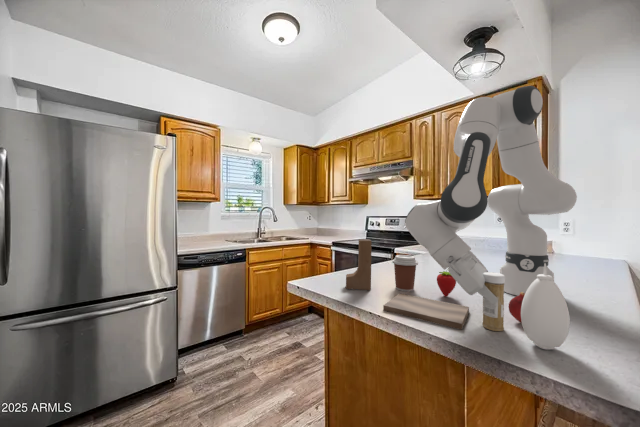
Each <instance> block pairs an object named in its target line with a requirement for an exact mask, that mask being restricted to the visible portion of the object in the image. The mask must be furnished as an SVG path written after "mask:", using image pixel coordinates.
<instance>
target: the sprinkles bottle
mask: <svg viewBox="0 0 640 427" xmlns="http://www.w3.org/2000/svg"><path fill="white" fill-rule="evenodd" d="M483 276H484V278H485V283H484V285H485V286H486V287H487V288H488V289H489V290H490V291H491V292H492V293H494V294H495V295H496V296H497V297H498V302H496V303H494V304H491V303H490V302H489V301H488V300H487V299H486V298H485V297H483V296H482V324H481V325H482V327H483V328H485V329H487V330H489V331H493V332H503V331H504V330H505V327H504V322H505V321H504V319H505V318H504V317H505V299H504V297H505V295H504V294H505V292H504V283H505V276H504V275H503V274H500V272H491V271H488V272H485V273H483Z"/></svg>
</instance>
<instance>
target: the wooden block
mask: <svg viewBox="0 0 640 427" xmlns="http://www.w3.org/2000/svg"><path fill="white" fill-rule="evenodd" d="M357 255H358V256H357V258H358V259H357V260H358V261H357V268H356V270H355V271H354V272H353V273H347V274H346V275H345V289H347V290H356V289H358V290H360V291H361V290H362V291H371V290H372V240H371V239H369V238H366V239H364V238H363V239H362V238H359V239H358V254H357ZM358 290H357V291H358Z"/></svg>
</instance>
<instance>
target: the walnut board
mask: <svg viewBox="0 0 640 427" xmlns="http://www.w3.org/2000/svg"><path fill="white" fill-rule="evenodd" d="M382 311H384V312H388V313H392V314H396V315H400V316H404V317H409V318H413V319H417V320H421V321H424V322H428V323H429V322H430V323H433V324H437V325H440V326H444V327H449V328H453V329H456V330H461V331H462V330H463V328H464V325H465V322H466V321H467V317H468V316H469V313H470V306H466V305H461V304H456V303H452V302H447V301H441V300H435V299H431V298H427V297H426V298H425V297H423V296H422V297H421V296H415V295H412V294H406V293H400V292H399V293H398V294H397V295H395V296H394V297H392V298H391V299H390V300H389V301H387V302H385V303H384V304H383V309H382Z"/></svg>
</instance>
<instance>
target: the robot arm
mask: <svg viewBox="0 0 640 427" xmlns="http://www.w3.org/2000/svg"><path fill="white" fill-rule="evenodd" d="M543 101H544V100H543V96H542V93H541V91H540V90H539V89H538V88H537V87H535V86H534V85H526V86H521V87H517V88H516V89H514V90H509V91H505V92H502V93H499V94H496V95H494V96H493V97H490V96H480V97H477V98H475V99H473V100H471V101H470V102H469V103H468V104H467V105H466V107H465V108H464V111H463V112H462V114H461V117H460V119H459V122H458V124H457V127H456V130H455V134H454V139H453V152H454V154H455V155H456V156H457V157H458V158H459V159H458V164H457V168H456V172H455V175H454V178H453V180H451V181H450V182H449V184H447V186H446V187H445V188H444V189H443V191H442V194H441V197H440V199H439V200H436V201H432V202H427V203H422V202H421V203H417V204H416V205H414V206H413V207H412V208H411V209H410V211H409V212H408V213H407V215H406V217H405V220H404V225H405V228H406V229H407V230H408V232H409V233H410V234H411V236H412V237H413V238H414V240H416V242H417V243H418V244H419V245H421V246H422V247H423V248H425V249H426V250H427V251H428V253H429V255H430V256H431V257H432V259H434V261H435V262H436V263H437V264H438V265H439V266H440V267H441V268H442V269H443V271H445V270H447V269H448V270H447V272H449V273H450V274H451V275H452V277H453V278H454V279H455V280H456V284H458V285H459V286H460V287H461V289H463V291H465V292H466V293H467V294H468V295H470V296H473V295H475V294H477V293H478V295H481V296H482V298H483V297H485V298H486V299H487V300H488V301H489V302H490V303H491V304H494V303H496V302H498V297H497V296H496V295H495V294H494V293H492V292H491V291H490V290H489V289H488V288H487V287H486V286H485V285H484V283H485V278H484V276H483V273H485V272H489V271H488V269H487V267H486V266H485V265H484V264H483V263H482V262H481V260H480V259H479V258H478V257H477V256H476V254H474V253H473V252H472V251H471V250H472V248H471V246H469V245H468V244H467V243H466V242H465V241H464V240H463V239H462V238H461V237H460V236H459V235H458V234H457V232H459V231H461V230H462V231H463V230H465V229H466V228H468V226H470V225H471V224H472V223H473V222H474V221H475V220H476V219H477V218H479V217H480V216H481V215H483V214H484V212H485V211H486V209H487V206H488V207H489V208H490V210H491V211H492V212H494V213H495V214H496V215H497V216H498V217H499V218H500V219H501V221H502V222H503V224H504V225H503V226H504V227H505V231H506V241H507V242H506V244H507V245H506V247H507V250H506V251H505V255H504V257H505V263H504V264H503V265H502V266H501V267H500V269H499V274H503V275H504V276H505V283H504V293H507V294H510V295H513V296H519V295H520V293H521V292H523V293H526V291H527V289H528V288H529V286H530V285H531V284H532V282H533V281H534V280H536V279H537V275H538V274H543V273H544V264H545V263H546V272H547V275H550V276H552V277H553V281H554V282H555V273H554V272H553V271H552V270H551V269H550V268H549V267H548V266H549V262H550V260H549V255H548V234H547V232H546V231H545V230H544V229H543V228H542V227H540V226H538V225H535V224H534V223H533V222H532V221H531V219H530V215H541V216H542V215H543V216H544V215H547V216H549V215H557V214H563V213H568V212H569V211H571V210H572V209H573V208H574V207H575V205H576V202H577V198H578V195H577V192H576V190H575V189H574V187H573V186H572V185H571V184H569V183H567V182H565V181H562V180H561V179H559V178H557V177H556V176H555V175H553V174H552V173H551V172H550V171H549V170H548V168H547V166H546V165H545V163H544V159H543V157H542V153H541V148H540V143H539V142H540V141H539V138H538V137H539V136H538V134H537V133H538V132H537V129H536V126H535V123H534V122H535V120H536V119H537V118H538V117H539V116H540V114H541V113H542V110H543V104H544V102H543ZM496 143H497V150H498V154H499V160H500V165H501V169H502V171H503V172H504V173H505V174H506V175H509V176H511V177H514V178H516V179H517V180H518V181H519V182H520V183H518V184H508V185H502V186H499V187H496V188H493V189H492V190H491V191H490V192H489V194H487V191H486V187H485V184H484V179H485V173H486V167H487V163H488V159H489V156H490V155H491V153H492V151H493V149H494V147H495V145H496Z"/></svg>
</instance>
